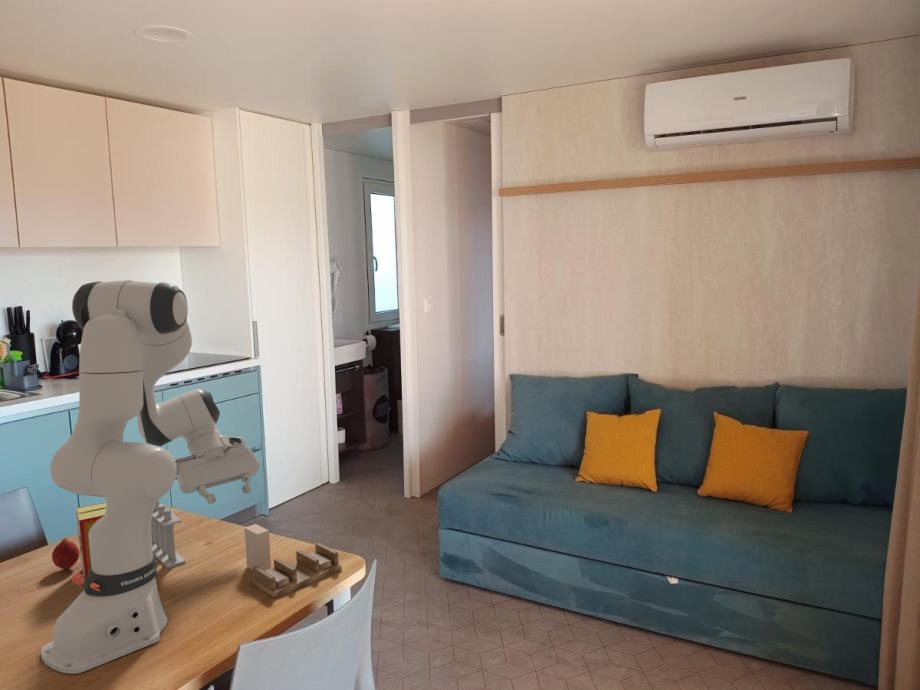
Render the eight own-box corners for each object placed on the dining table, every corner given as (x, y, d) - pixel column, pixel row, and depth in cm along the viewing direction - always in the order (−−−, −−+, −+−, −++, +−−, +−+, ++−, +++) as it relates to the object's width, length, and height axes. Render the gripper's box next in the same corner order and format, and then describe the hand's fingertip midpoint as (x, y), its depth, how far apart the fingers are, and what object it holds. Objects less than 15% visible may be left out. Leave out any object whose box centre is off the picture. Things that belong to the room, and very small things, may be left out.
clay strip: (259, 574, 162) (257, 534, 161) (247, 567, 166) (244, 527, 165) (271, 570, 164) (268, 530, 163) (258, 563, 169) (255, 523, 167)
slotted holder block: (274, 598, 151) (273, 580, 150) (251, 583, 158) (249, 566, 157) (341, 569, 164) (340, 553, 163) (317, 557, 171) (316, 541, 170)
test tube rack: (136, 538, 186) (132, 490, 184) (153, 533, 188) (149, 487, 187) (167, 569, 167) (162, 516, 165) (185, 563, 170) (181, 512, 168)
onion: (79, 572, 166) (75, 540, 165) (51, 577, 164) (48, 544, 163) (82, 562, 171) (79, 531, 170) (55, 566, 169) (52, 535, 168)
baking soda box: (117, 577, 163) (110, 512, 161) (86, 585, 159) (79, 519, 157) (111, 562, 171) (105, 500, 168) (82, 570, 167) (75, 506, 165)
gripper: (172, 453, 168) (193, 502, 162) (249, 436, 182) (271, 480, 177) (166, 467, 172) (186, 515, 166) (242, 449, 186) (263, 492, 181)
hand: (230, 497), depth 172 cm, fingers open, 8 cm apart
